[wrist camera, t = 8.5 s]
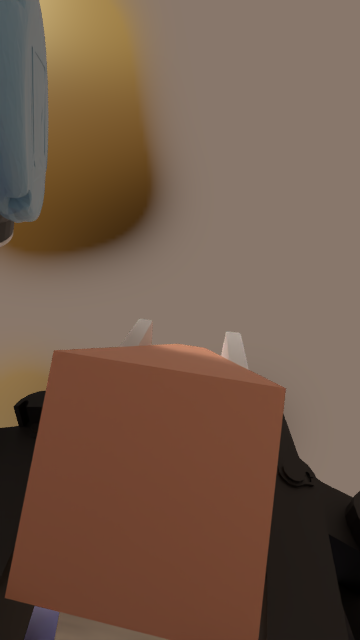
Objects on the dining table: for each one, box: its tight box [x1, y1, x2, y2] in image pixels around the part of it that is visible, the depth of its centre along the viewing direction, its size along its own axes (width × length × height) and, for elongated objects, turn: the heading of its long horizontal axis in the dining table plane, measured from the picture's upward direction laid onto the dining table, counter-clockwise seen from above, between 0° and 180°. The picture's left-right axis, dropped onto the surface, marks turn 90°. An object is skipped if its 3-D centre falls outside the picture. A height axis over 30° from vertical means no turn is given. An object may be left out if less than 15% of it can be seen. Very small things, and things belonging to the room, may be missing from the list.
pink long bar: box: [5, 344, 286, 640], centre depth 19 cm, size 30×4×4 cm, turn 176°
